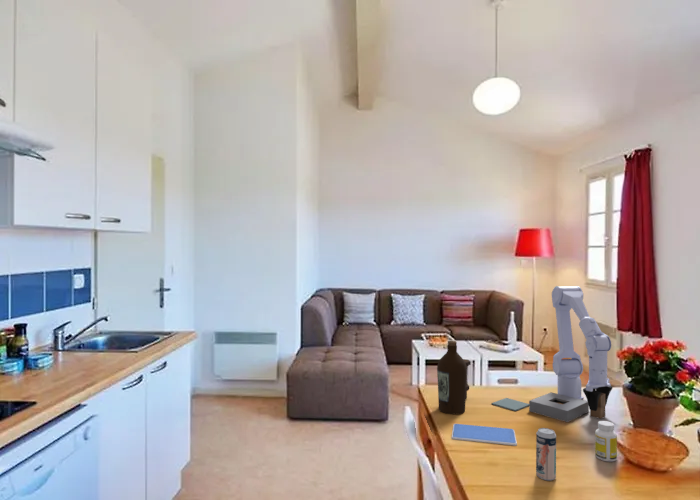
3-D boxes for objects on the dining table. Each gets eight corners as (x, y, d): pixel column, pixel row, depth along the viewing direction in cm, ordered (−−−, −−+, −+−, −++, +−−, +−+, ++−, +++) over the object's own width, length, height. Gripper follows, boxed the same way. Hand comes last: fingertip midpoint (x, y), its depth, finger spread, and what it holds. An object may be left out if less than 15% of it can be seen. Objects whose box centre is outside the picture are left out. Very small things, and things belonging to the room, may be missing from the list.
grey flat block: (551, 402, 183) (551, 392, 183) (588, 411, 172) (588, 401, 172) (529, 411, 173) (529, 400, 173) (567, 422, 162) (567, 410, 162)
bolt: (469, 397, 189) (469, 359, 189) (471, 401, 184) (471, 362, 184) (454, 396, 190) (454, 358, 189) (455, 400, 184) (456, 361, 184)
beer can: (532, 473, 125) (533, 427, 125) (550, 472, 126) (550, 427, 125) (541, 482, 120) (541, 434, 120) (559, 481, 121) (560, 434, 121)
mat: (506, 399, 187) (506, 397, 187) (530, 405, 179) (530, 404, 179) (491, 404, 180) (491, 403, 180) (515, 411, 173) (515, 410, 173)
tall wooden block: (594, 413, 170) (594, 391, 170) (605, 416, 168) (605, 393, 168) (590, 416, 168) (590, 393, 168) (600, 418, 165) (600, 395, 165)
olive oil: (455, 403, 181) (455, 337, 180) (472, 412, 171) (473, 343, 171) (431, 407, 176) (431, 339, 176) (447, 416, 167) (448, 345, 167)
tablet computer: (451, 441, 147) (451, 436, 147) (453, 426, 159) (453, 422, 159) (517, 448, 142) (517, 443, 142) (514, 432, 154) (514, 428, 154)
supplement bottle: (614, 455, 136) (615, 421, 136) (618, 463, 131) (618, 427, 131) (593, 452, 138) (593, 418, 138) (596, 460, 133) (597, 425, 133)
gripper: (601, 375, 160) (600, 415, 160) (618, 368, 169) (618, 406, 170) (579, 370, 166) (579, 409, 166) (597, 364, 175) (597, 401, 175)
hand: (597, 407), depth 168 cm, fingers open, 7 cm apart
